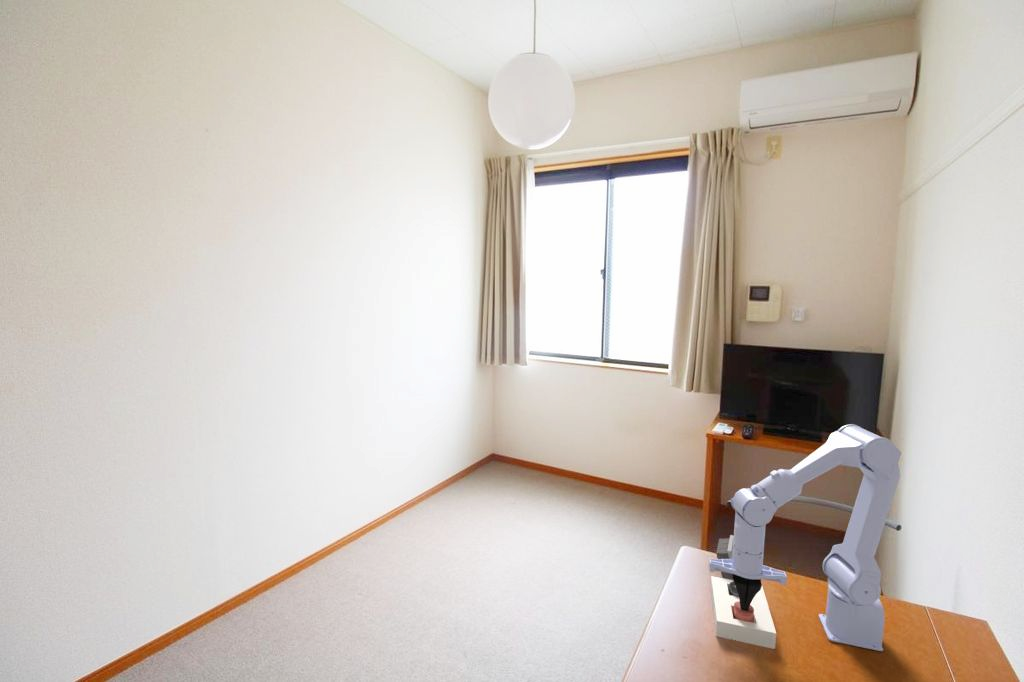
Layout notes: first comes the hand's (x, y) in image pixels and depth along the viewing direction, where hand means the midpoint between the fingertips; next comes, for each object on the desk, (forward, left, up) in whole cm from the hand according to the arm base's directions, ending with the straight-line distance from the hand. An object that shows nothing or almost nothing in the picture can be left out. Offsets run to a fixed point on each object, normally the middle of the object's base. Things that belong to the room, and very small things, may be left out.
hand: (743, 607), depth 101 cm
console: (0, -4, -5) cm, 6 cm away
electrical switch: (0, -19, -5) cm, 20 cm away
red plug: (0, 0, -4) cm, 4 cm away
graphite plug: (0, -8, -4) cm, 9 cm away
